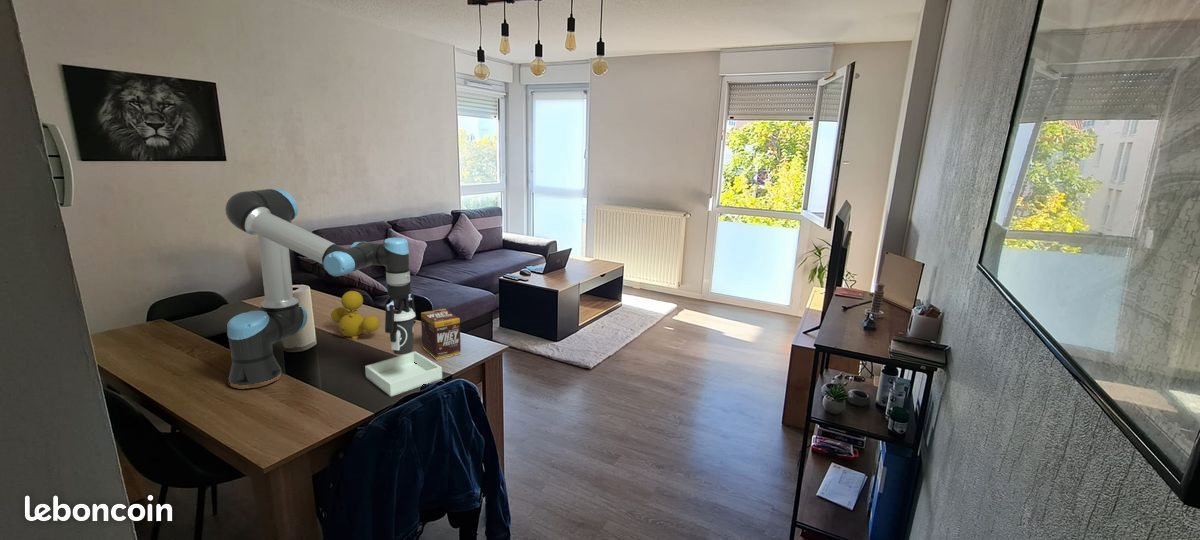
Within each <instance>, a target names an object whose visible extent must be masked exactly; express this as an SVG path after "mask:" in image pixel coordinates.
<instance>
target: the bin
mask: <svg viewBox="0 0 1200 540" xmlns="http://www.w3.org/2000/svg"><path fill="white" fill-rule="evenodd" d="M414 362H415V363H417V364H415V363H414ZM364 367H365V368H364V369H365V378H366V379H367V380H368V381H370V382H371V383H373V384H374V385H375V386H376V387H378V388H379V390H382V391H383V392H384V393H386V394H387V395H388V396H390V397H394V396H396V395H401V394H403V393H405V392H406V393H407V392H408V391H412V390H414V389H417V388H420V387H423V386H424V385H423V384H426V385H428V383H429V384H431V383H434V382H436V381H439V380H442V379H443V367H442V366H440V365H439V364H437V363H436V362H434V361H432V360H430V359H429V358H427V357H425V356H424V355H422V354H421V353H418V352H417V351H412V352H410V353H407V354H400V355H398V356H394V357H391V358H388V359H385V360H381V361H378V362H375V363H371V364H367V365H365V366H364ZM422 385H423V386H422Z"/></svg>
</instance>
